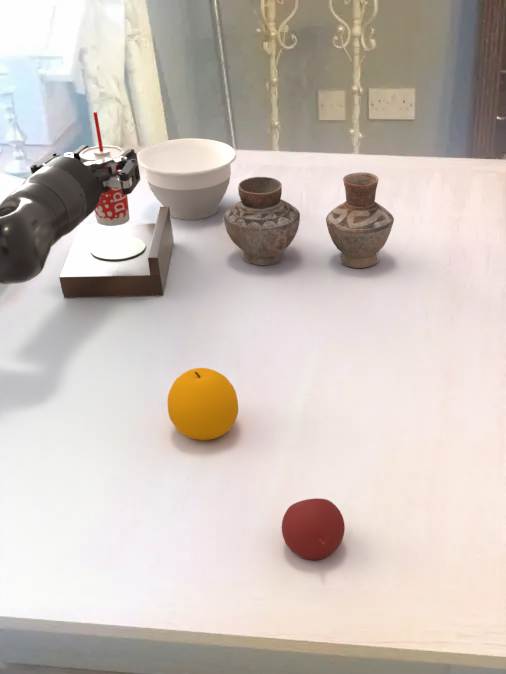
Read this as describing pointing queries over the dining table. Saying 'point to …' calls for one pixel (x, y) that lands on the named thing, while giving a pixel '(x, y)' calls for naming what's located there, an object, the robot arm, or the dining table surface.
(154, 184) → the bowl
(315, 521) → the fruit
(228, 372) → the dining table surface
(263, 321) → the dining table surface
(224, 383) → the apple
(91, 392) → the dining table surface
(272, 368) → the dining table surface
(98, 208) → the beverage cup
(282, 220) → the pottery
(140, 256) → the shelf
